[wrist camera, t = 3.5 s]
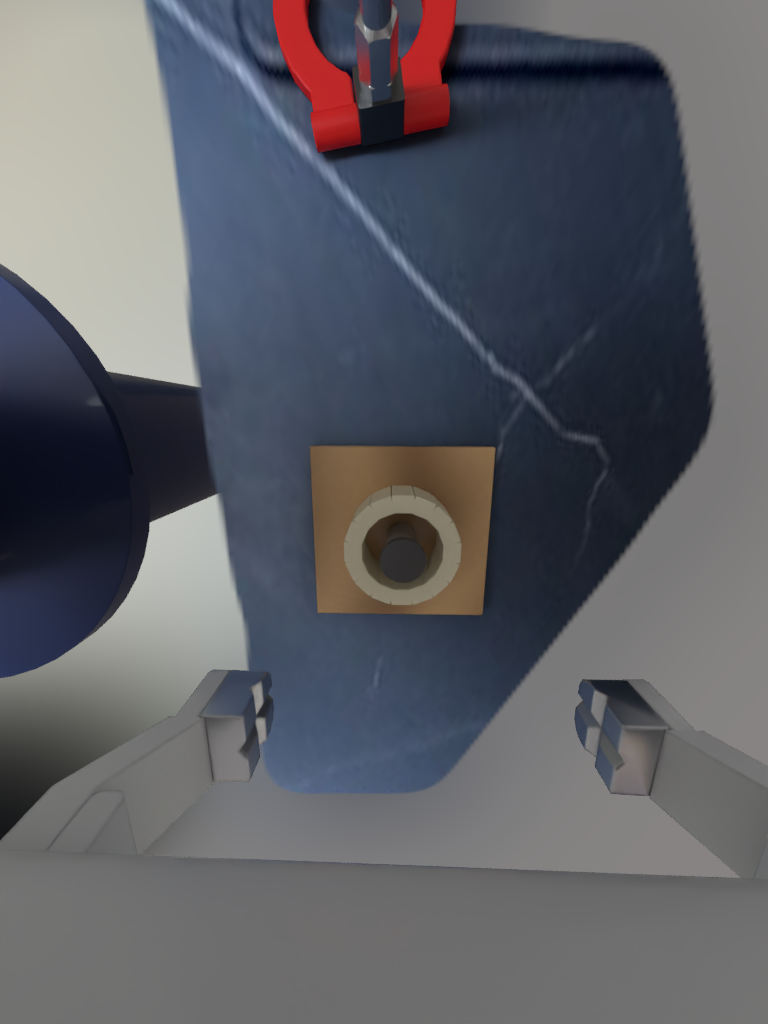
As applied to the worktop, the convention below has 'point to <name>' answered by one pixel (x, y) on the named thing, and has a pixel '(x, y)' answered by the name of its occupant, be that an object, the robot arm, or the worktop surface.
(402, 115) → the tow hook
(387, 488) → the tape roll
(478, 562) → the peg stand
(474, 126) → the worktop surface
